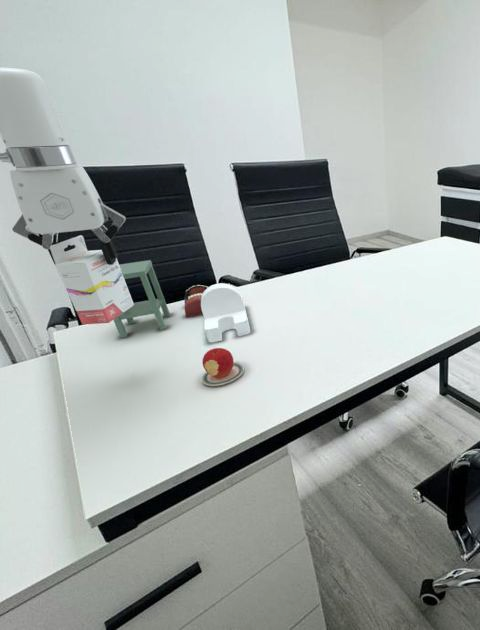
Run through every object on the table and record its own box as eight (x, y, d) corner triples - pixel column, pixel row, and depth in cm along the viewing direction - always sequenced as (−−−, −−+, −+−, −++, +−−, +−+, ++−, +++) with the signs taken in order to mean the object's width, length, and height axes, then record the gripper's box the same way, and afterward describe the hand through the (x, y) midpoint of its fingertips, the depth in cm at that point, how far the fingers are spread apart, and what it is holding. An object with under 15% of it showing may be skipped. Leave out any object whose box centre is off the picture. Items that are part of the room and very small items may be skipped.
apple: (248, 377, 79) (240, 350, 76) (205, 392, 75) (195, 364, 72) (239, 360, 85) (231, 335, 82) (199, 374, 81) (189, 347, 78)
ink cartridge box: (110, 323, 71) (76, 245, 64) (81, 325, 70) (44, 247, 64) (136, 304, 78) (108, 232, 72) (110, 306, 78) (79, 234, 71)
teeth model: (178, 298, 102) (180, 284, 112) (185, 319, 105) (186, 304, 115) (213, 292, 106) (212, 279, 116) (219, 313, 108) (217, 299, 118)
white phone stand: (208, 343, 92) (195, 302, 88) (208, 315, 107) (196, 278, 102) (251, 333, 96) (240, 293, 91) (245, 307, 111) (235, 271, 106)
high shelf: (120, 338, 97) (94, 278, 90) (128, 322, 105) (105, 266, 98) (166, 329, 100) (144, 271, 93) (170, 314, 109) (150, 260, 102)
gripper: (-41, 164, 56) (19, 280, 64) (103, 157, 62) (141, 264, 70) (-15, 161, 62) (37, 267, 70) (114, 155, 68) (148, 253, 76)
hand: (89, 264), depth 70 cm, fingers closed on ink cartridge box, 6 cm apart
